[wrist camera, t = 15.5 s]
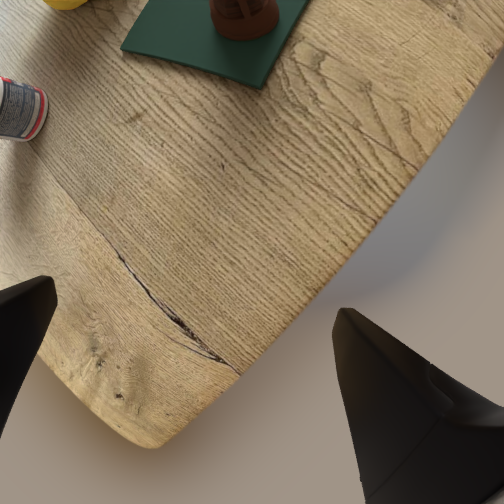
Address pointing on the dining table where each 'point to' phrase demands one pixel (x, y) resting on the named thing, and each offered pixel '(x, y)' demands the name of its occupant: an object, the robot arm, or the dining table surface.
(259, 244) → the dining table surface
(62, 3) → the teapot
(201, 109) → the dining table surface
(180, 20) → the play mat
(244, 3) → the chess piece
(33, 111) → the pill bottle
